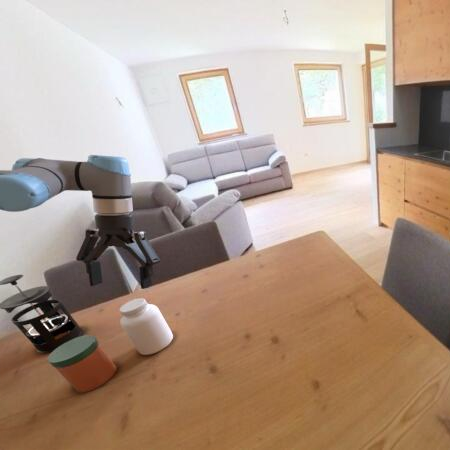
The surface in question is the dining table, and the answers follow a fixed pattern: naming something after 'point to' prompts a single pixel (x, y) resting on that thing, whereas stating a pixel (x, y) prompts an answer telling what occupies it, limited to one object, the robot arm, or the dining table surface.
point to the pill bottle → (145, 326)
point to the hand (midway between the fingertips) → (121, 285)
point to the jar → (89, 371)
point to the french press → (41, 317)
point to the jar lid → (73, 351)
